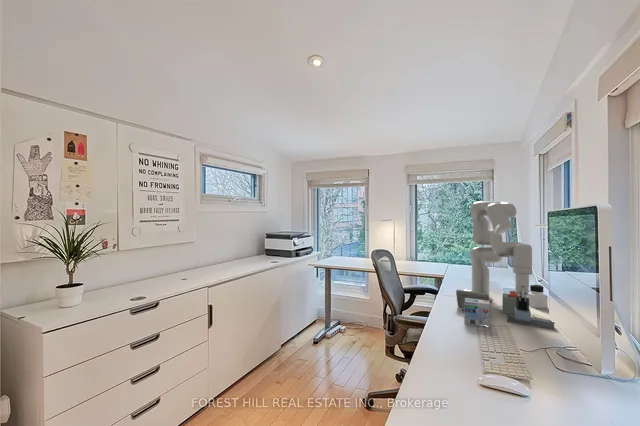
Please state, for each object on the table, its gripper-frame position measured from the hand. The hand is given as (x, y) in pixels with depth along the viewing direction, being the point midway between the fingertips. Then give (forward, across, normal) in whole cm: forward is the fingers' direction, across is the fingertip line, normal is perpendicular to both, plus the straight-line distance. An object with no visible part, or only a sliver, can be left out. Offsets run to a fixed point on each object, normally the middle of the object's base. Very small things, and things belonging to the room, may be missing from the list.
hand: (522, 308), depth 141 cm
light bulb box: (+7, +12, -18) cm, 23 cm away
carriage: (+5, 0, 0) cm, 5 cm away
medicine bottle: (+7, -36, +8) cm, 38 cm away
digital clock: (+7, -8, -22) cm, 24 cm away
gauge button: (0, -14, -3) cm, 14 cm away
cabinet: (+7, -14, -3) cm, 16 cm away
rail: (+7, 0, +3) cm, 7 cm away
